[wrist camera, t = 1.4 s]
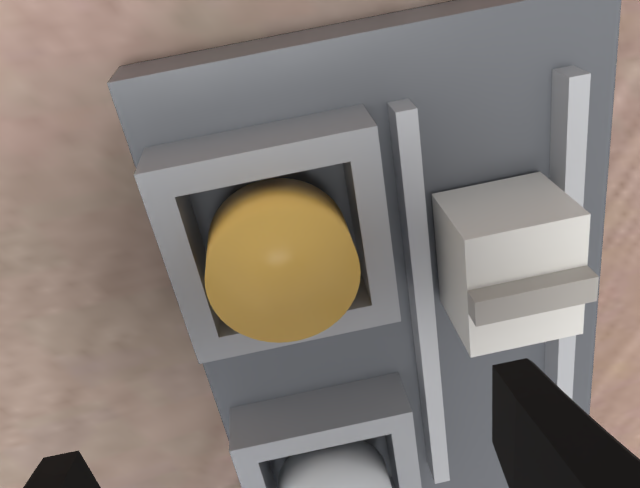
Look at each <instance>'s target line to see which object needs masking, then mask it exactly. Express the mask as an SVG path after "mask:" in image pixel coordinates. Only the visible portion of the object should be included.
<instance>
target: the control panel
mask: <svg viewBox="0 0 640 488" xmlns="http://www.w3.org/2000/svg"><path fill="white" fill-rule="evenodd" d="M620 10H621V0H454V1H449V2H444V3H439V4H434V5H429V6H424V7H419V8H414V9H409V10H404V11H399V12H393V13H388V14H383V15H378V16H373V17H368V18H363V19H358V20H353V21H348V22H343V23H338V24H333V25H327V26H322V27H317V28H312V29H307V30H302V31H297V32H292V33H287V34H282V35H277V36H272V37H266V38H261V39H256V40H251V41H246V42H241V43H236V44H231V45H226V46H221V47H216V48H211V49H206V50H200V51H195V52H190V53H185V54H180V55H175V56H170V57H165V58H160V59H155V60H150V61H145V62H140V63H134V64H129V65H124V66H120V67H119V68H118V69H117V71H116V72H115V73H114V75H113V76H112V77H111V79H110V80H109V81H108V83H107V84H108V87H109V90H110V93H111V96H112V99H113V102H114V105H115V108H116V111H117V114H118V117H119V120H120V123H121V126H122V128H123V131H124V134H125V137H126V140H127V143H128V146H129V149H130V152H131V155H132V158H133V161H134V164H135V167H136V171H135V173H134V177H135V180H136V183H137V186H138V188H139V191H140V194H141V197H142V200H143V203H144V206H145V209H146V212H147V215H148V217H149V220H150V223H151V226H152V229H153V232H154V235H155V238H156V241H157V244H158V246H159V249H160V252H161V255H162V258H163V261H164V264H165V267H166V270H167V273H168V275H169V278H170V281H171V284H172V287H173V290H174V293H175V296H176V299H177V302H178V304H179V307H180V310H181V313H182V316H183V319H184V322H185V325H186V328H187V331H188V333H189V336H190V339H191V342H192V345H193V348H194V351H195V354H196V357H197V360H198V362H199V364H202V363H203V366H204V369H205V372H206V375H207V378H208V381H209V384H210V387H211V390H212V393H213V395H214V398H215V401H216V404H217V407H218V410H219V413H220V416H221V419H222V422H223V425H224V428H225V431H226V434H227V437H228V439H229V452H230V455H231V458H232V461H233V464H234V467H235V470H236V473H237V476H238V478H239V481H240V484H241V487H242V488H278V476H279V472H280V470H281V467H282V466H283V464H284V463H285V461H286V460H287V459H288V458H289V457H290V456H292V455H296V454H301V453H305V452H310V451H315V450H319V449H324V448H329V447H333V446H338V445H342V444H347V443H352V442H356V441H361V440H362V441H364V442H367V443H368V444H370V445H372V446H373V447H375V448H376V449H377V450H378V451H379V452H380V453H381V455H382V456H383V458H384V460H385V464H386V468H387V471H388V475H389V479H390V482H391V486H392V488H509V487H508V484H507V481H506V479H505V476H504V473H503V471H502V468H501V465H500V462H499V460H498V457H497V454H496V451H495V448H494V446H493V443H492V365H495V364H500V363H505V362H510V361H515V360H520V359H524V358H528V359H529V360H531V361H532V362H534V363H535V364H536V365H537V366H538V367H539V368H540V369H541V370H542V371H543V372H544V373H545V374H546V375H547V376H548V377H549V378H550V379H551V380H552V381H553V382H554V383H555V384H556V385H557V386H558V387H559V388H560V389H561V390H562V391H563V392H564V393H565V394H567V395H568V396H569V397H570V398H571V399H572V400H573V401H574V402H575V403H576V404H577V405H578V406H579V407H580V408H582V409H583V410H584V411H585V412H586V413H587V414H588V415H589V412H590V399H591V386H592V373H593V360H594V347H595V334H596V321H597V308H598V295H599V282H600V270H601V257H602V244H603V231H604V218H605V205H606V192H607V179H608V166H609V153H610V140H611V127H612V114H613V101H614V88H615V75H616V62H617V49H618V36H619V23H620ZM535 172H541V173H542V174H544V175H545V176H546V177H547V178H548V179H550V180H551V181H552V182H553V183H554V184H556V185H557V186H558V187H559V188H560V189H562V190H563V191H564V192H565V193H566V194H567V195H569V196H570V197H571V198H572V199H573V200H575V201H576V202H577V203H578V204H579V205H581V206H582V207H583V208H584V209H585V210H587V211H588V212H589V213H590V214H591V217H590V233H589V249H588V264H587V265H588V266H589V267H590V268H591V269H592V270H593V271H594V272H595V273H596V274H597V275H598V276H599V282H598V295H597V301H595V302H590V303H586V304H585V311H584V326H583V334H579V335H575V336H570V337H565V338H561V339H556V340H551V341H547V342H542V343H537V344H533V345H528V346H523V347H519V348H514V349H509V350H505V351H500V352H495V353H491V354H486V355H481V356H477V357H472V358H471V357H470V355H469V354H468V352H467V350H466V348H465V346H464V344H463V342H462V340H461V339H460V337H459V335H458V333H457V331H456V329H455V327H454V325H453V324H452V322H451V320H450V318H449V316H448V314H447V312H446V310H445V309H444V307H443V305H442V303H441V301H440V291H439V279H438V266H437V254H436V242H435V229H434V217H433V205H432V194H433V193H438V192H443V191H448V190H453V189H458V188H463V187H467V186H472V185H477V184H482V183H487V182H492V181H497V180H501V179H506V178H511V177H516V176H521V175H526V174H531V173H535ZM271 178H289V179H296V180H300V181H304V182H306V183H309V184H312V185H313V186H315V187H317V188H319V189H321V190H322V191H323V192H325V193H326V194H327V195H328V196H329V197H331V198H332V199H333V200H334V202H335V203H336V204H337V205H338V207H339V209H340V210H341V212H342V214H343V216H344V219H345V221H346V224H347V227H348V229H349V232H350V235H351V238H352V241H353V243H354V246H355V249H356V252H357V254H358V258H359V262H360V271H361V275H360V284H359V288H358V291H357V294H356V297H355V299H354V301H353V303H352V304H351V306H350V307H349V309H348V310H347V312H346V313H345V314H344V315H343V316H342V317H341V318H340V319H339V320H338V321H337V322H336V323H335V324H333V325H332V326H331V327H329V328H328V329H326V330H325V331H323V332H321V333H319V334H317V335H314V336H312V337H309V338H306V339H303V340H299V341H293V342H283V343H275V342H265V341H259V340H256V339H252V338H249V337H247V336H244V335H242V334H240V333H238V332H236V331H235V330H233V329H232V328H230V327H229V326H228V325H226V324H225V323H224V322H223V321H222V320H221V319H220V318H219V316H218V315H217V314H216V313H215V311H214V310H213V308H212V306H211V304H210V302H209V300H208V297H207V293H206V289H205V267H206V255H207V243H208V232H209V228H210V224H211V222H212V219H213V217H214V215H215V213H216V212H217V210H218V209H219V207H220V206H221V205H222V203H223V202H224V201H225V200H226V199H227V198H228V197H229V196H230V195H232V194H233V193H235V192H236V191H237V190H239V189H241V188H242V187H244V186H246V185H249V184H251V183H254V182H257V181H260V180H264V179H271Z"/></svg>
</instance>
